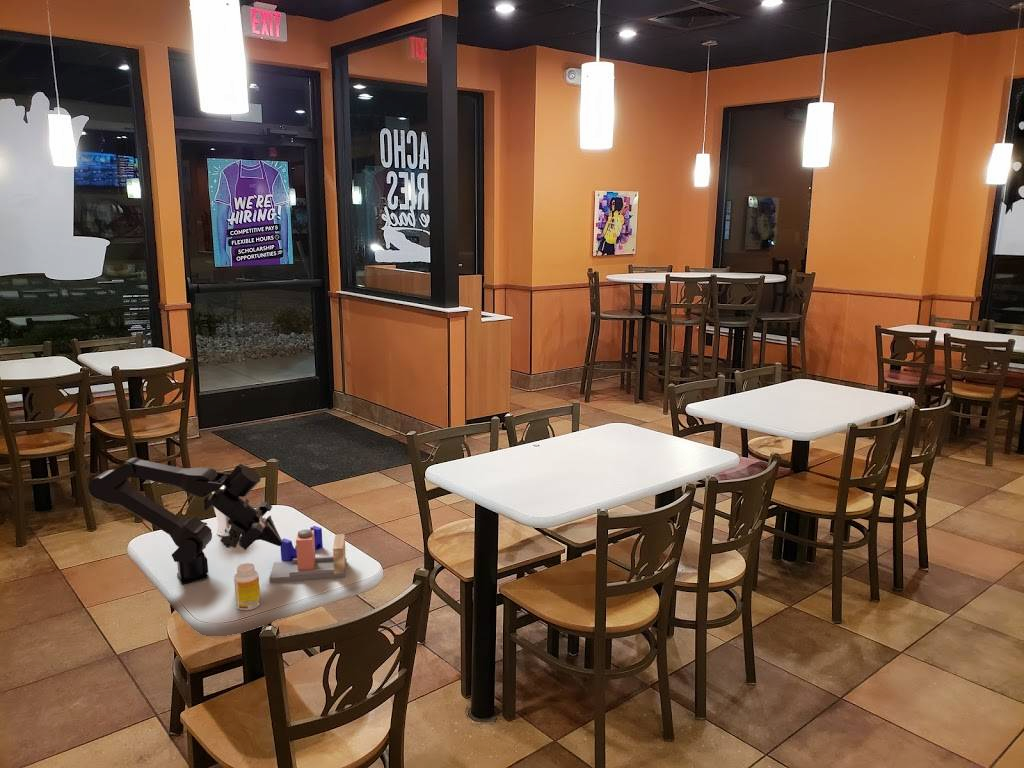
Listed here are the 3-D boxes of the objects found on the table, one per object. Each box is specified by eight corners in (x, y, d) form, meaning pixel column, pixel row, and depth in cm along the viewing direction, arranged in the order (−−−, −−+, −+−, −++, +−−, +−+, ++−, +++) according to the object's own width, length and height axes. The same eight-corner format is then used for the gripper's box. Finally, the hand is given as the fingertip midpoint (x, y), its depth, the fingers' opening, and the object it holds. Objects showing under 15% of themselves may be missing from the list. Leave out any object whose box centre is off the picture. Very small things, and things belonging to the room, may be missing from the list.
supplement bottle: (265, 605, 185) (262, 566, 183) (243, 613, 181) (240, 574, 179) (253, 597, 189) (250, 559, 186) (232, 605, 185) (228, 566, 182)
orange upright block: (297, 572, 198) (295, 537, 196) (300, 562, 204) (298, 528, 202) (313, 571, 199) (311, 536, 197) (315, 561, 205) (313, 527, 202)
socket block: (334, 573, 198) (332, 548, 197) (336, 558, 207) (335, 534, 205) (343, 573, 199) (342, 548, 197) (345, 557, 207) (344, 534, 206)
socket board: (269, 582, 196) (268, 574, 196) (274, 566, 205) (273, 559, 204) (344, 577, 199) (344, 569, 199) (346, 561, 208) (346, 554, 207)
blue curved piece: (312, 543, 219) (311, 524, 218) (322, 547, 217) (321, 528, 215) (277, 559, 210) (276, 538, 208) (288, 563, 207) (287, 542, 206)
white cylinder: (245, 530, 227) (241, 483, 224) (225, 538, 222) (221, 490, 218) (230, 525, 231) (226, 478, 228) (210, 533, 225) (206, 485, 222)
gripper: (220, 515, 204) (265, 550, 208) (204, 544, 186) (254, 583, 190) (248, 486, 204) (293, 522, 208) (235, 512, 186) (284, 551, 190)
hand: (281, 544), depth 199 cm, fingers closed
